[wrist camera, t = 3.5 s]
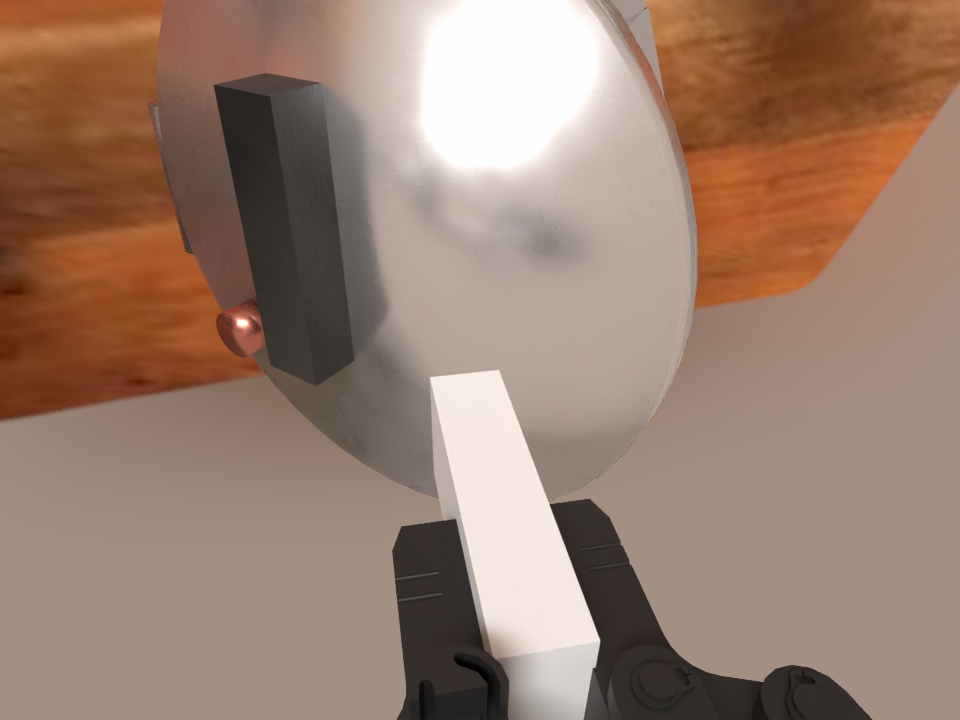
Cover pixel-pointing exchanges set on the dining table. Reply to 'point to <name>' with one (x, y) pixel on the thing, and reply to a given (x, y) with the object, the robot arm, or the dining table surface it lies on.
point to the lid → (434, 214)
